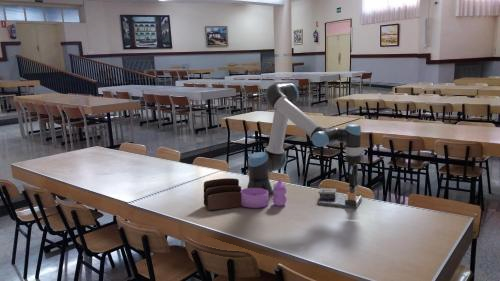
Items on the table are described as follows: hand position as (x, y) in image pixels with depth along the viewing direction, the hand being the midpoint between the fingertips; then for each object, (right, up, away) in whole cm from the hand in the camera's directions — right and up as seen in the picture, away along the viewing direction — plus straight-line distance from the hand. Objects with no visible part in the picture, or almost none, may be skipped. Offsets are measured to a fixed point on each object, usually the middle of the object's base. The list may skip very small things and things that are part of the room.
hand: (353, 198), depth 215 cm
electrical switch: (-12, -2, +6) cm, 14 cm away
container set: (-47, -4, +6) cm, 48 cm away
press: (-6, -3, +4) cm, 8 cm away
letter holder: (-69, -5, +5) cm, 69 cm away
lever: (-2, -2, -3) cm, 4 cm away
